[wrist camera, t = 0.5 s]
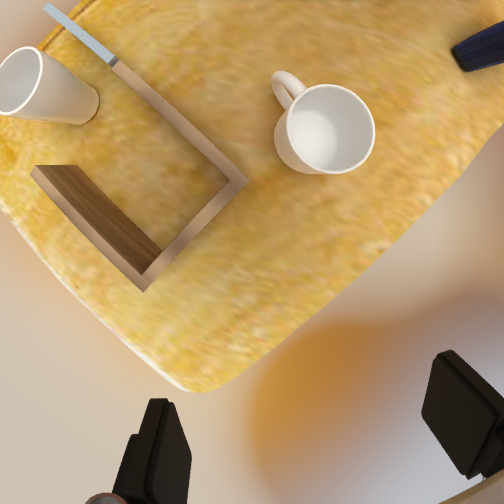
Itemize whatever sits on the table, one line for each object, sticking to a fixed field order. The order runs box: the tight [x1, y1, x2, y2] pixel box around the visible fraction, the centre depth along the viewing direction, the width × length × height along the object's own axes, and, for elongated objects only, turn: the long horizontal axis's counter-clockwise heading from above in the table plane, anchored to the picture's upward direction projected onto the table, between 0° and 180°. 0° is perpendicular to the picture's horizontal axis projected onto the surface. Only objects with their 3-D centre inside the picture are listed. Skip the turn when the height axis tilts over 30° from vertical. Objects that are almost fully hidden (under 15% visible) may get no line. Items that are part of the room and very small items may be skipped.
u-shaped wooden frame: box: [30, 60, 250, 292], centre depth 31 cm, size 14×17×10 cm
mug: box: [271, 71, 375, 174], centre depth 30 cm, size 12×8×10 cm
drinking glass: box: [0, 46, 99, 125], centre depth 26 cm, size 7×7×15 cm
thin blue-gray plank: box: [43, 3, 119, 68], centre depth 27 cm, size 14×1×10 cm, turn 45°
